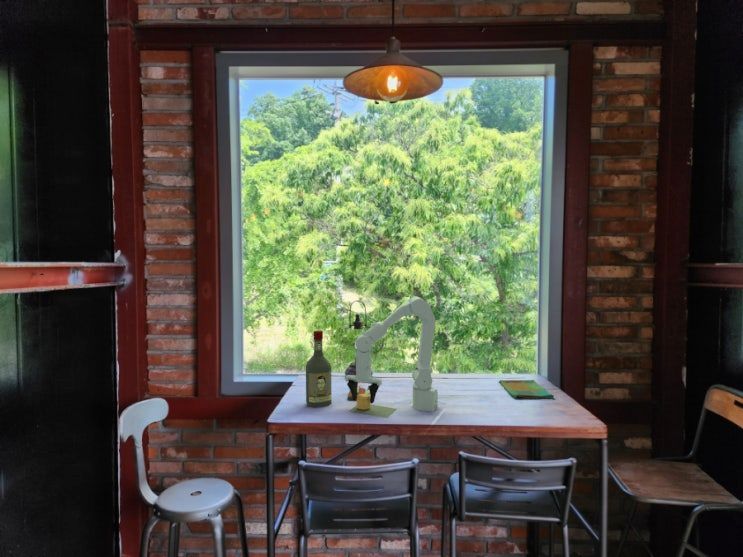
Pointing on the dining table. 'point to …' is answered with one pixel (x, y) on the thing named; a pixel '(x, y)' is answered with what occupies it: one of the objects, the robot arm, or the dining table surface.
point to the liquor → (318, 376)
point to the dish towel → (525, 389)
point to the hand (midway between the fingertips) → (363, 401)
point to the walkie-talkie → (359, 392)
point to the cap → (363, 401)
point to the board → (375, 411)
